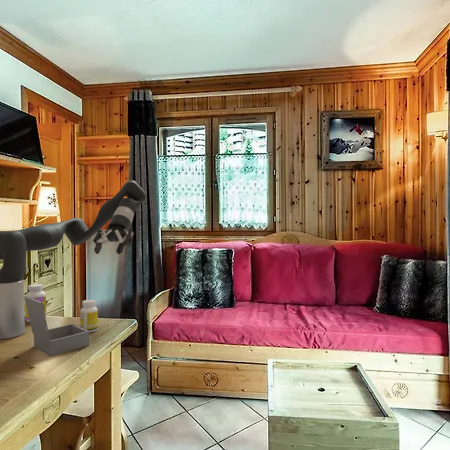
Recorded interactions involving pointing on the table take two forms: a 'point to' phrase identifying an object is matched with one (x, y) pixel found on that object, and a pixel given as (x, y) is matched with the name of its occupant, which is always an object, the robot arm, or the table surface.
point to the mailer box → (53, 332)
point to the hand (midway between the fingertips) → (106, 252)
